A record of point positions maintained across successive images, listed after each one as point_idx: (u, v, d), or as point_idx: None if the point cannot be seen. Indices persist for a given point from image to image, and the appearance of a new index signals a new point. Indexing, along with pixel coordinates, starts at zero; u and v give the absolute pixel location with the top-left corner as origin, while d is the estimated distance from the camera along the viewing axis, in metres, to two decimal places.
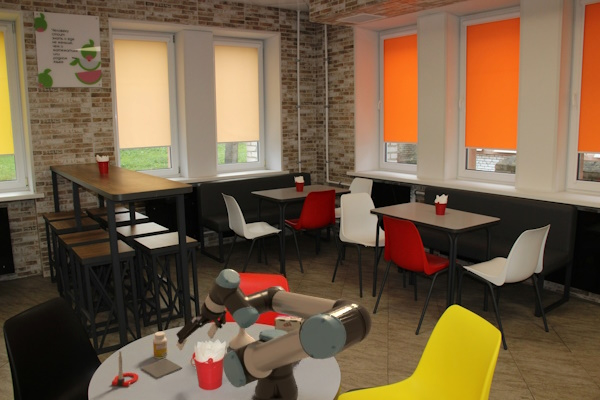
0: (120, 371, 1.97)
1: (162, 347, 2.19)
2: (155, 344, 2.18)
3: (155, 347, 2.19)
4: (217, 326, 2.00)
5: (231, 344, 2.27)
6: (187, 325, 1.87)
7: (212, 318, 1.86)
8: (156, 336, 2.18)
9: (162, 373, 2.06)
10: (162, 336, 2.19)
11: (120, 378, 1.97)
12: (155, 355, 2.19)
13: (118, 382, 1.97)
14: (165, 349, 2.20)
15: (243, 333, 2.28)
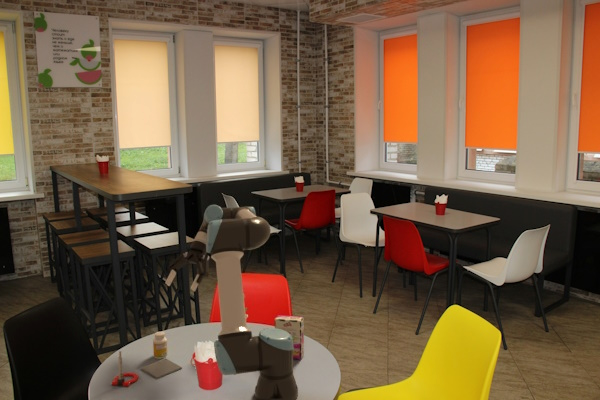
0: (120, 371, 1.97)
1: (162, 347, 2.19)
2: (155, 344, 2.18)
3: (155, 347, 2.19)
4: (199, 275, 2.28)
5: None
6: None
7: (191, 245, 2.36)
8: (156, 336, 2.18)
9: (162, 373, 2.06)
10: (162, 336, 2.19)
11: (120, 378, 1.97)
12: (155, 355, 2.19)
13: (118, 382, 1.97)
14: (165, 349, 2.20)
15: None
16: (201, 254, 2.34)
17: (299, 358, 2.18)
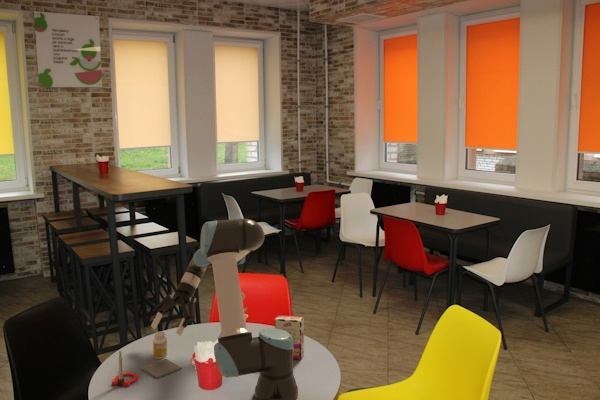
0: (120, 371, 1.97)
1: (162, 347, 2.19)
2: (155, 344, 2.18)
3: (155, 347, 2.19)
4: None
5: None
6: None
7: (178, 286, 2.32)
8: (156, 336, 2.18)
9: (162, 373, 2.06)
10: (162, 336, 2.19)
11: (120, 378, 1.97)
12: (155, 355, 2.19)
13: (118, 382, 1.97)
14: (165, 349, 2.20)
15: None
16: (188, 296, 2.30)
17: (299, 358, 2.18)
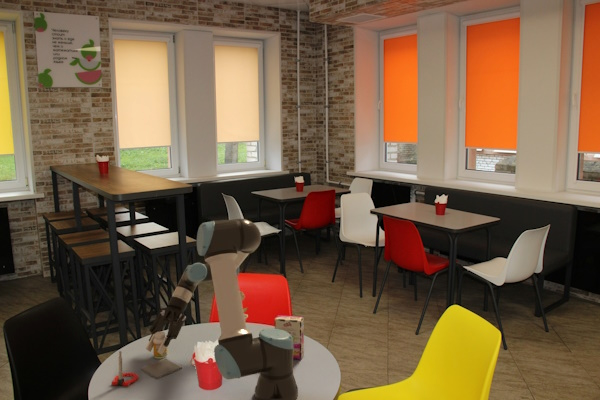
0: (120, 371, 1.97)
1: None
2: (155, 344, 2.18)
3: (155, 347, 2.19)
4: (167, 337, 2.19)
5: None
6: None
7: (169, 301, 2.27)
8: (156, 336, 2.18)
9: (162, 373, 2.06)
10: (162, 336, 2.19)
11: (120, 378, 1.97)
12: (155, 355, 2.19)
13: (118, 382, 1.97)
14: (165, 349, 2.20)
15: None
16: (179, 312, 2.24)
17: (299, 358, 2.18)
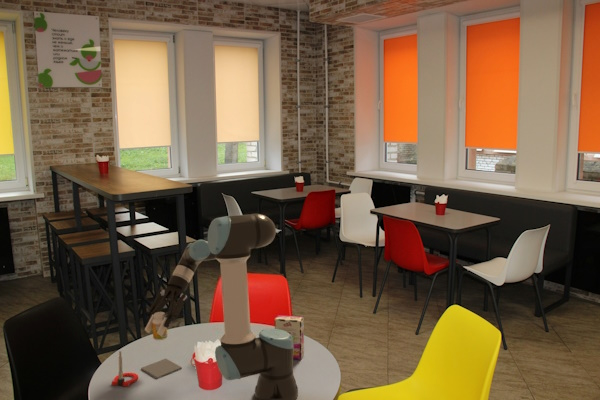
0: (120, 371, 1.97)
1: None
2: (154, 325, 2.06)
3: (154, 328, 2.06)
4: (167, 318, 2.07)
5: None
6: None
7: (169, 280, 2.14)
8: (155, 316, 2.06)
9: (162, 373, 2.06)
10: (162, 316, 2.06)
11: (120, 378, 1.97)
12: (154, 336, 2.07)
13: (118, 382, 1.97)
14: (165, 330, 2.07)
15: None
16: (180, 291, 2.12)
17: (299, 358, 2.18)
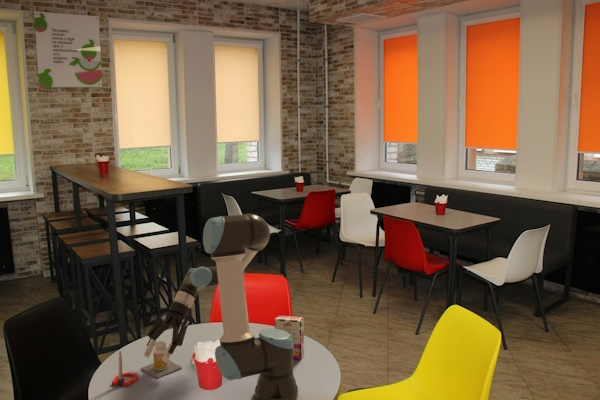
0: (120, 371, 1.97)
1: None
2: (155, 355, 2.07)
3: (155, 358, 2.08)
4: (171, 344, 2.07)
5: None
6: None
7: (170, 306, 2.15)
8: (156, 346, 2.07)
9: (162, 373, 2.06)
10: (163, 346, 2.08)
11: (120, 378, 1.97)
12: (155, 366, 2.08)
13: (118, 382, 1.97)
14: None
15: None
16: (181, 317, 2.13)
17: (299, 358, 2.18)
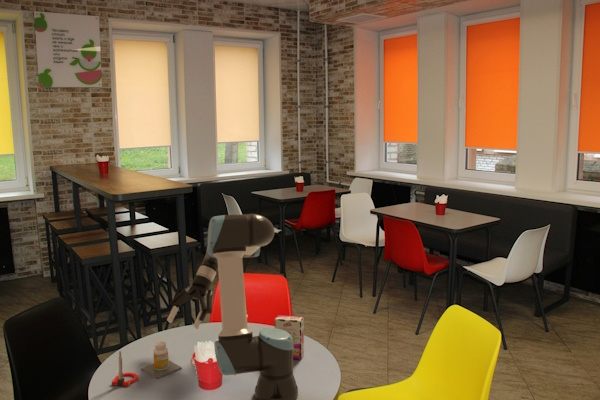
0: (120, 371, 1.97)
1: (163, 358, 2.07)
2: (155, 355, 2.07)
3: (155, 358, 2.07)
4: (202, 312, 2.20)
5: None
6: None
7: (194, 280, 2.29)
8: (157, 347, 2.07)
9: (162, 373, 2.06)
10: (163, 347, 2.08)
11: (120, 378, 1.97)
12: (155, 367, 2.08)
13: (118, 382, 1.97)
14: (166, 360, 2.09)
15: None
16: (204, 289, 2.26)
17: (299, 358, 2.18)
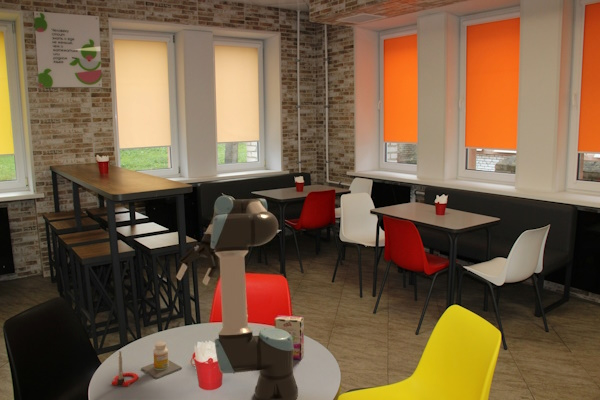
0: (120, 371, 1.97)
1: (163, 358, 2.07)
2: (155, 355, 2.07)
3: (155, 358, 2.07)
4: (211, 268, 2.22)
5: None
6: None
7: (203, 238, 2.30)
8: (157, 347, 2.07)
9: (162, 373, 2.06)
10: (163, 347, 2.08)
11: (120, 378, 1.97)
12: (155, 367, 2.08)
13: (118, 382, 1.97)
14: (166, 360, 2.09)
15: None
16: (213, 247, 2.28)
17: (299, 358, 2.18)
